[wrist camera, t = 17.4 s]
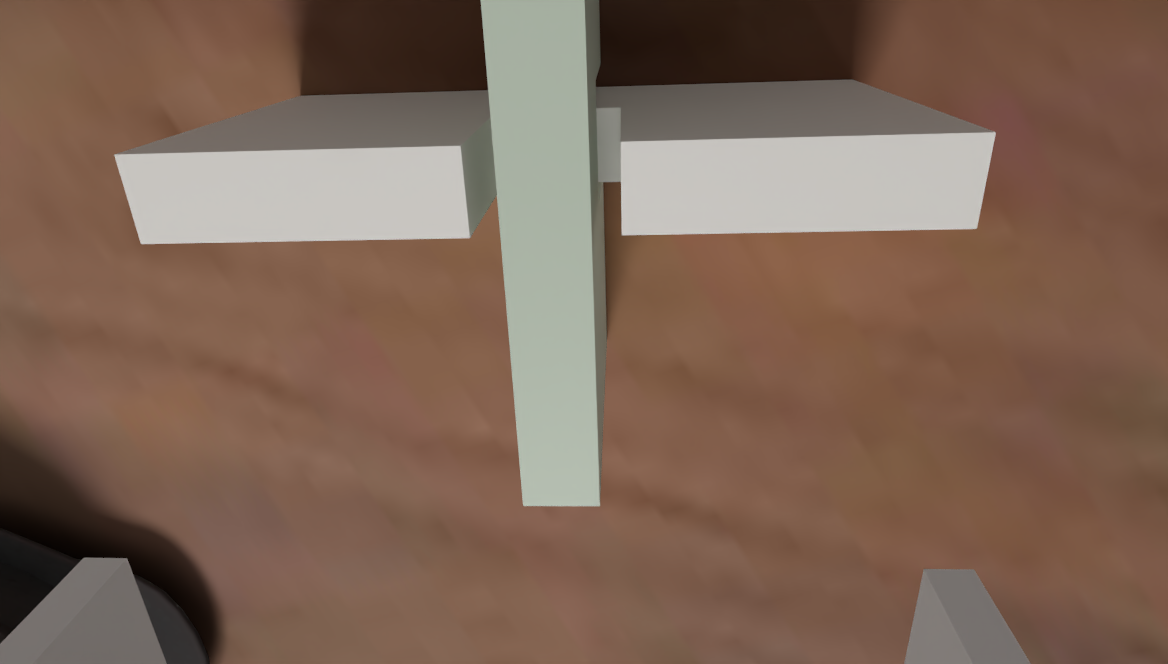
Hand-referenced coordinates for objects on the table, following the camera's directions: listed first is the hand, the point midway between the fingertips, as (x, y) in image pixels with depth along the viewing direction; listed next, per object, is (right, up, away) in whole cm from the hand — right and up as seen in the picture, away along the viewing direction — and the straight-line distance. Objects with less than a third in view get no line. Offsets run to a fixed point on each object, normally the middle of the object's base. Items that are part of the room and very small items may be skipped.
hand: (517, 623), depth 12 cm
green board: (+1, +14, +17) cm, 22 cm away
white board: (+1, +14, +17) cm, 22 cm away
